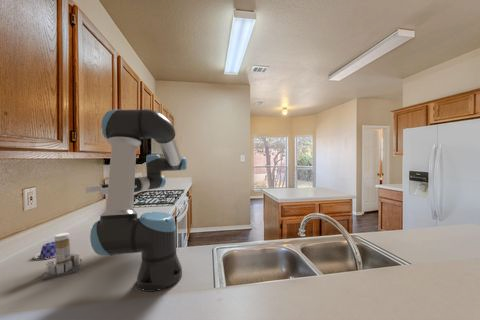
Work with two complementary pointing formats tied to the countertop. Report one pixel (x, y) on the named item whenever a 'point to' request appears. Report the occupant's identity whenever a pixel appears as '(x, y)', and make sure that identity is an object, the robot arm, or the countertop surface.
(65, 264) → the collar
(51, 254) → the checkered hat
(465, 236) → the countertop surface
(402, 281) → the countertop surface
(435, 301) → the countertop surface
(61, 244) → the sprinkles bottle
